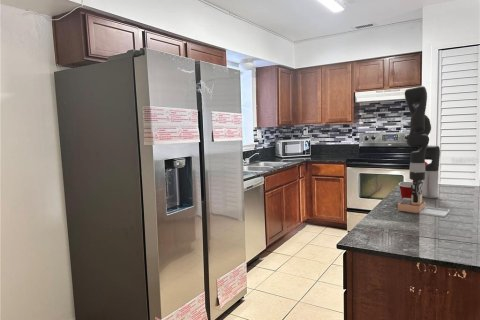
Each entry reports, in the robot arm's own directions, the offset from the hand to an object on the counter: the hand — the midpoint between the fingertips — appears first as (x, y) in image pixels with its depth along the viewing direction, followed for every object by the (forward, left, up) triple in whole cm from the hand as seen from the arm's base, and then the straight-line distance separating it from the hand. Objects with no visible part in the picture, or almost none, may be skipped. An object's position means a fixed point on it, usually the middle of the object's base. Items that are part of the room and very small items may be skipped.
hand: (416, 201), depth 181 cm
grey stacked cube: (0, -5, -4) cm, 7 cm away
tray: (0, +9, -5) cm, 10 cm away
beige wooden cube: (0, 0, -1) cm, 1 cm away
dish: (0, -2, -5) cm, 6 cm away
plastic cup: (-15, -8, -5) cm, 18 cm away
